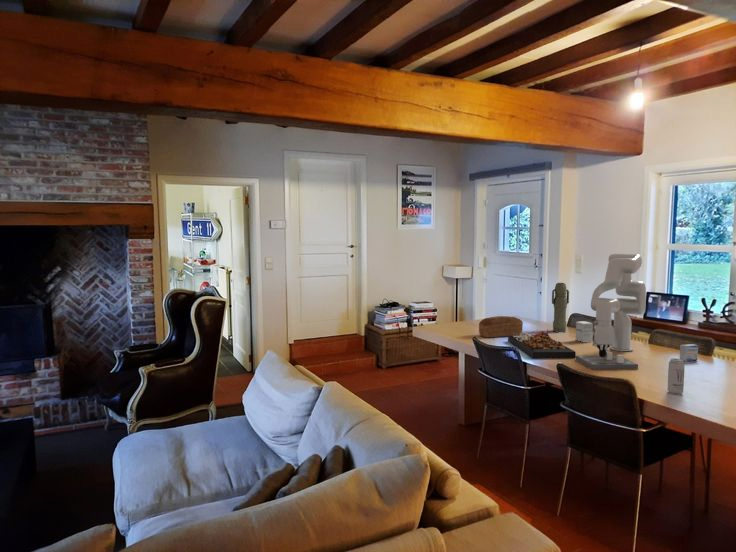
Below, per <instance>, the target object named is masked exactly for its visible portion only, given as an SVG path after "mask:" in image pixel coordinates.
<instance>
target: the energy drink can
mask: <svg viewBox="0 0 736 552" xmlns="http://www.w3.org/2000/svg"><path fill="white" fill-rule="evenodd" d="M684 362H685V361H683V360H682V359H680V358H674V357H673V358H670V360H669V361H668V368H667V369H668V370H667V371H668V372H667V374H668V375H667V391H668V393H669V394H672V395H677V396H680V395H682V394H683V393H684V385H685V383H684V382H685V381H684V380H685V369H686V368H685V365H686V364H685V363H684Z"/></svg>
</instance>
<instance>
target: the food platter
mask: <svg viewBox="0 0 736 552" xmlns="http://www.w3.org/2000/svg"><path fill="white" fill-rule="evenodd" d="M548 330H549V329H548V328H547V330H546V331H545V330H541V331H539V332H538V329H536V333H535V334H532V333H531V334H529V333H528V332H522V333H521V334H520V335H518V334H517V335H512V336H507V342H508V343H509V344H511V345H512V346H514V347H515V348H517V349H518V350H519V351H521V352H522V353H524V354H525V355H527V356H528V357H529V358H531V359H532V360H533V359H535V360H537V359H541V360H543V359H545V360H546V359H576V356H577V354H576V350H573V349H572V348H569V347H568V346H566V345H564V344H563V343H564V342H562V341H559V340H558V341H557V340H555V339H553V338H552V337H551V335H549V331H548Z"/></svg>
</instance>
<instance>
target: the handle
mask: <svg viewBox="0 0 736 552" xmlns="http://www.w3.org/2000/svg"><path fill="white" fill-rule="evenodd" d="M616 355H617V363H624V358H625V355H624V354H616Z"/></svg>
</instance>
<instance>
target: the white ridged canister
mask: <svg viewBox="0 0 736 552" xmlns="http://www.w3.org/2000/svg"><path fill="white" fill-rule="evenodd" d="M593 324H594V323H593V322H590V321H583V320H582V321H576V322H575V341H576V340H578V341H577V342H580V341H581V342H580V343H582V342H586V343H592V342H591V341H592V337H593V329H594V327H593Z"/></svg>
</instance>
